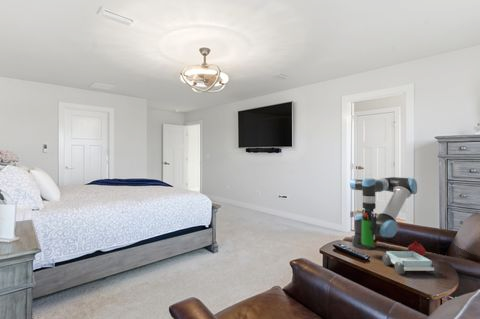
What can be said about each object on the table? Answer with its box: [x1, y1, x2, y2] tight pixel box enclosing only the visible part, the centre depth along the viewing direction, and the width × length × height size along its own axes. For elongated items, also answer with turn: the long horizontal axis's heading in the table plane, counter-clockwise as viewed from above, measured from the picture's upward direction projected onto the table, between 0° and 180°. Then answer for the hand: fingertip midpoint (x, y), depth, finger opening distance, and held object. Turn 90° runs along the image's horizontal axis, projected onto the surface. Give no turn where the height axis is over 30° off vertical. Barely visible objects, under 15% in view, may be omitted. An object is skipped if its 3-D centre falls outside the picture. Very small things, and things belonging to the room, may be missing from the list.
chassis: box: [382, 250, 438, 275], centre depth 145 cm, size 18×19×8 cm
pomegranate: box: [407, 240, 427, 257], centre depth 167 cm, size 10×10×9 cm
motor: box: [362, 213, 378, 247], centre depth 165 cm, size 10×9×20 cm
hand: (369, 237), depth 165 cm, fingers closed on motor, 7 cm apart
